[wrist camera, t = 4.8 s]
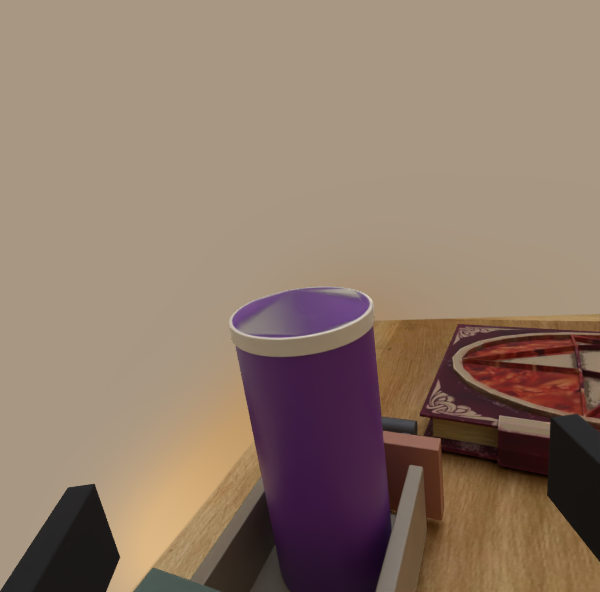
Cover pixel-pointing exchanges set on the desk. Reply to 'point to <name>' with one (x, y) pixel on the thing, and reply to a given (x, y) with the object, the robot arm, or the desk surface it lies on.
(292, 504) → the tube
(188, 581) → the cabinet
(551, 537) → the desk surface
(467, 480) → the desk surface
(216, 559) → the drawer
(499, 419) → the book
